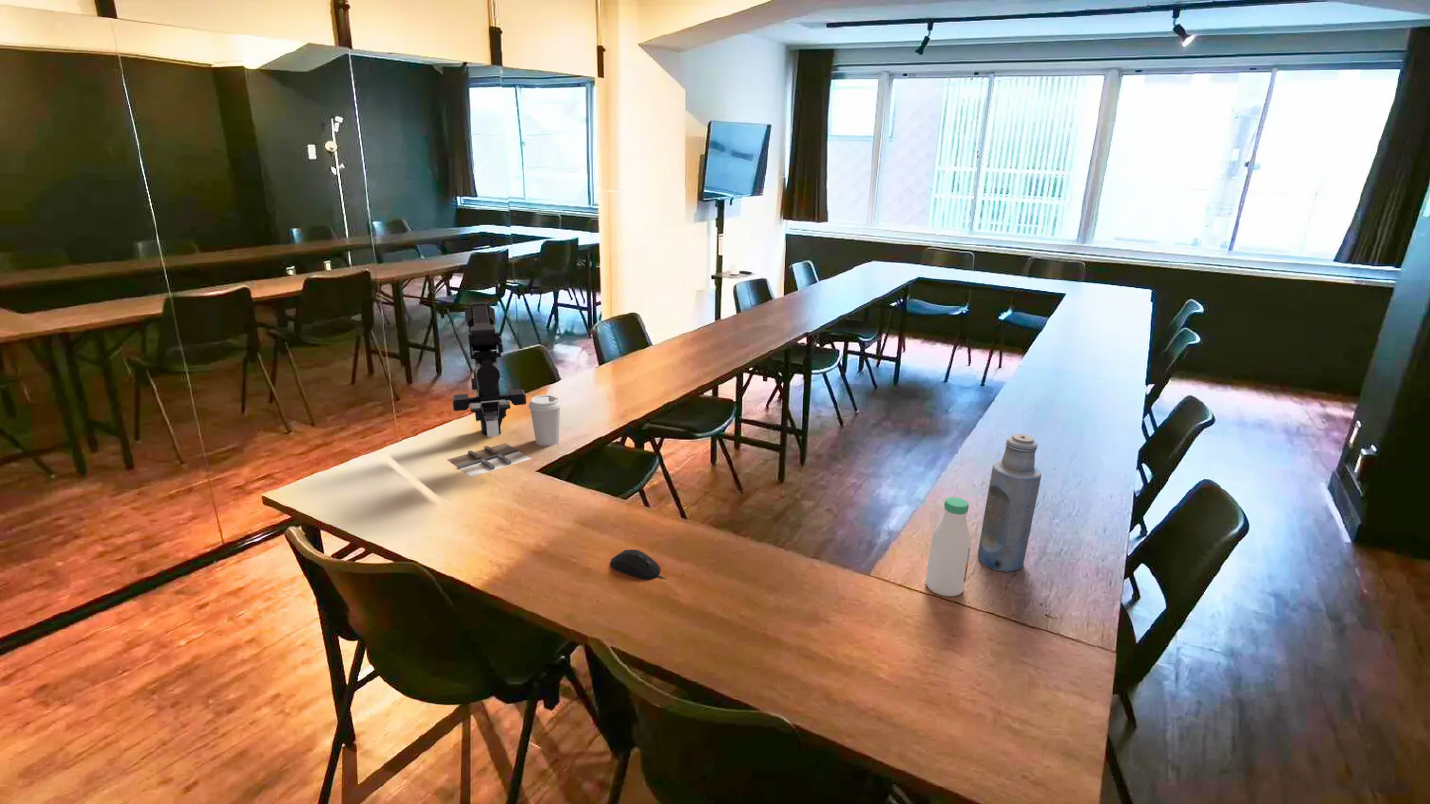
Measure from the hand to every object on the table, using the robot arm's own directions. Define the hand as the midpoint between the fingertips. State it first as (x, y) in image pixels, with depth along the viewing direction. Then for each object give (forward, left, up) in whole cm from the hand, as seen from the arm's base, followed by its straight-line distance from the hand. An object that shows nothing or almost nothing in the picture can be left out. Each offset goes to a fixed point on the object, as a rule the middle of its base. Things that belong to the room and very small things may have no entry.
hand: (492, 429), depth 195 cm
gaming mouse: (+67, -1, -13) cm, 68 cm away
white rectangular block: (0, 0, -1) cm, 1 cm away
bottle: (+118, +61, -12) cm, 133 cm away
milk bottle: (+115, +42, -12) cm, 123 cm away
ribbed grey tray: (-4, 0, -12) cm, 13 cm away
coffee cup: (-4, +19, -12) cm, 23 cm away
